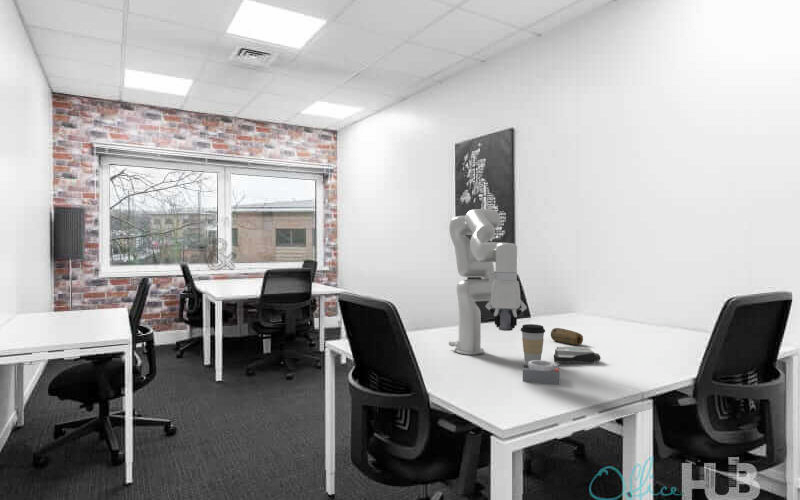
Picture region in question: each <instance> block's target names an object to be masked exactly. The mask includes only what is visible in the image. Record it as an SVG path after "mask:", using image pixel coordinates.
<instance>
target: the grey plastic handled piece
mask: <svg viewBox="0 0 800 500" xmlns="http://www.w3.org/2000/svg"><path fill="white" fill-rule="evenodd" d="M600 355H601V354H599V353H597V352H594V351H593V350H592V349H591V348H588V347H584V346H556V348H555V350H554V354H553V363H554V364H555V363H563V364H566V363H567V364H568V363H569V364H570V363H573V364H575V363H577V364H578V363H579V364H594V363H596V362H600V361H601V359H602V358H601V356H600Z"/></svg>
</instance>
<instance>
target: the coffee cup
mask: <svg viewBox="0 0 800 500" xmlns="http://www.w3.org/2000/svg"><path fill="white" fill-rule="evenodd" d="M520 332H521V333H522V338H521V340H522V348H523V350H522V351H523V355H524V363H528V362H529V361H532V360H542V355H543V348H544V335H545V334H544V333H546V329H545V327H544V326H543V325H540V324H534V323H533V324H532V323H531V324H530V323H529V324H523V325H522V327H520Z"/></svg>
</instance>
